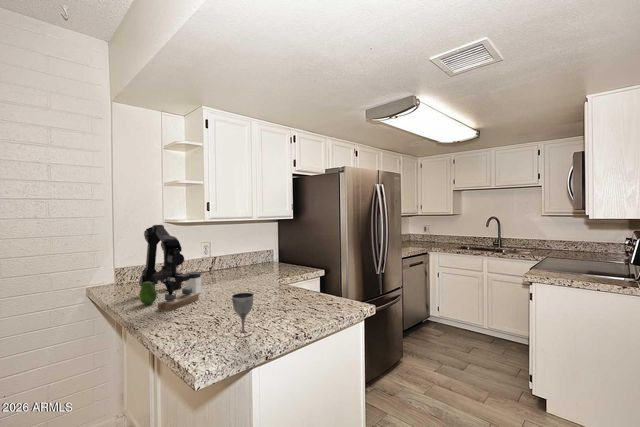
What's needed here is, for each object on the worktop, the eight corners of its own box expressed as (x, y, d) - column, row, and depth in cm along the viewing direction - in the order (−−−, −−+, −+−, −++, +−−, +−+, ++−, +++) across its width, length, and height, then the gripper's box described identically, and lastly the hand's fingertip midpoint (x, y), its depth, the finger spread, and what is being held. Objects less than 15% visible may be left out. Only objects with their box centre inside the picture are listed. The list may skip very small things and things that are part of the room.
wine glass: (234, 330, 122) (234, 292, 122) (254, 329, 123) (254, 292, 123) (230, 338, 114) (230, 298, 114) (252, 337, 115) (251, 297, 115)
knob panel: (157, 309, 150) (157, 302, 150) (186, 298, 170) (186, 292, 170) (171, 310, 148) (171, 303, 148) (198, 299, 167) (198, 293, 167)
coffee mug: (185, 288, 194) (185, 272, 194) (173, 291, 187) (173, 274, 187) (175, 285, 200) (175, 270, 200) (162, 288, 193) (162, 272, 193)
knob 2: (180, 295, 163) (180, 289, 163) (186, 293, 168) (186, 287, 168) (187, 296, 162) (187, 290, 162) (194, 293, 166) (194, 287, 166)
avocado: (136, 305, 157) (136, 282, 157) (150, 301, 164) (150, 279, 164) (145, 307, 154) (145, 283, 154) (160, 303, 160) (160, 280, 161)
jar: (203, 293, 180) (202, 273, 180) (188, 295, 175) (188, 274, 175) (198, 290, 187) (198, 270, 187) (184, 292, 182) (183, 272, 182)
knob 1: (162, 301, 151) (162, 295, 151) (170, 299, 156) (170, 292, 156) (171, 302, 150) (170, 295, 150) (178, 299, 155) (178, 293, 155)
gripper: (141, 265, 148) (142, 297, 148) (173, 266, 143) (174, 300, 143) (159, 261, 159) (160, 291, 159) (190, 263, 154) (190, 294, 154)
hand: (170, 294), depth 153 cm, fingers closed, pressing on knob 1
